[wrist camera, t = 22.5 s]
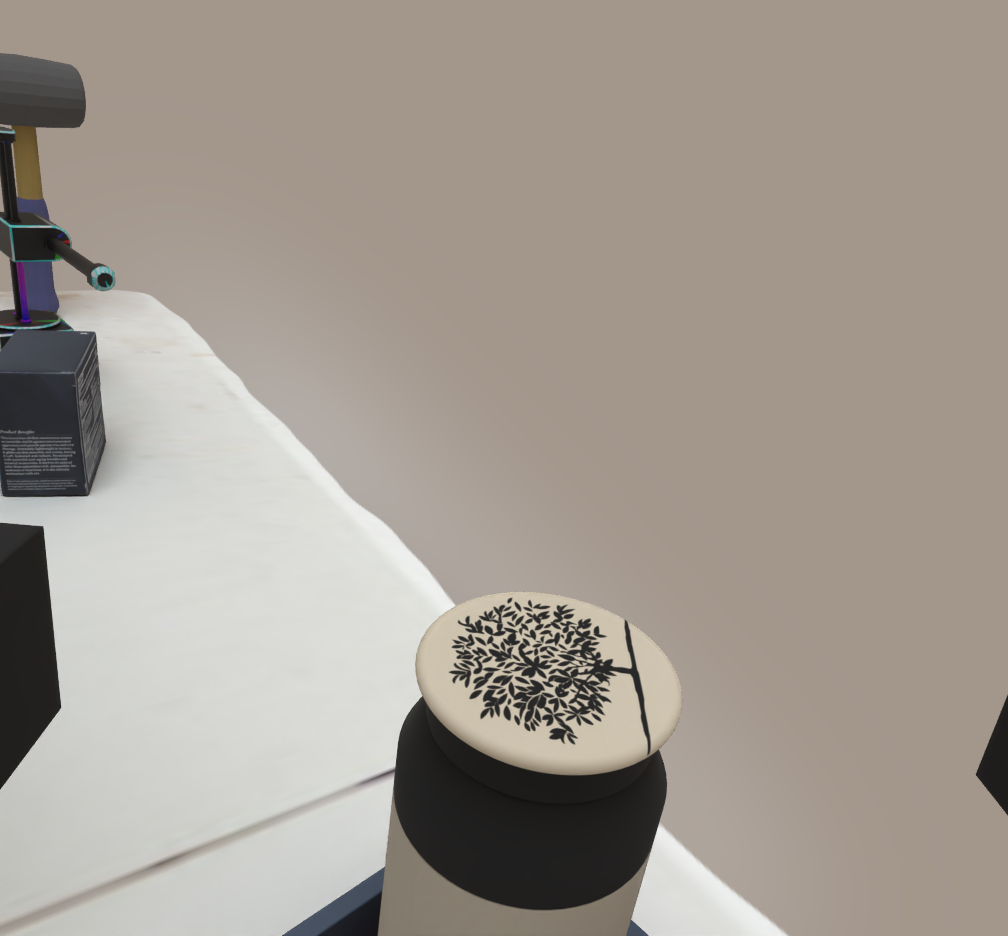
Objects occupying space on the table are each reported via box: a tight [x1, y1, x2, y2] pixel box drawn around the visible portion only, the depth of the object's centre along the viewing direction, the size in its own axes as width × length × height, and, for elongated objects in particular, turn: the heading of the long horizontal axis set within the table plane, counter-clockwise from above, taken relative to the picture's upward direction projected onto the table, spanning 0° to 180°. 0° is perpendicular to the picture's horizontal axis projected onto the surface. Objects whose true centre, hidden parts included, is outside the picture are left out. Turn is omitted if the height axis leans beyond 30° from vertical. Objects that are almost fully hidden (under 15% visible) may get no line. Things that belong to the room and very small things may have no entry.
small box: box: [0, 330, 106, 496], centre depth 67 cm, size 11×6×10 cm, turn 17°
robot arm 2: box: [0, 127, 115, 351], centre depth 75 cm, size 25×9×24 cm, turn 41°
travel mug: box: [378, 592, 682, 936], centre depth 27 cm, size 8×8×18 cm
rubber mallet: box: [0, 53, 86, 313], centre depth 97 cm, size 12×8×30 cm, turn 131°
